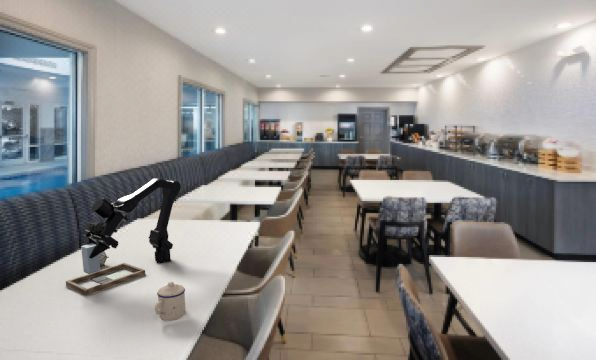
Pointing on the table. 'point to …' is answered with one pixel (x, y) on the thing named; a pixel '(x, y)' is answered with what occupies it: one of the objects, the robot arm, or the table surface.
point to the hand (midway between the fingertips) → (87, 256)
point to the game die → (102, 258)
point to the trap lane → (104, 278)
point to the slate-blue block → (88, 263)
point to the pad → (115, 276)
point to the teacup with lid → (171, 302)
